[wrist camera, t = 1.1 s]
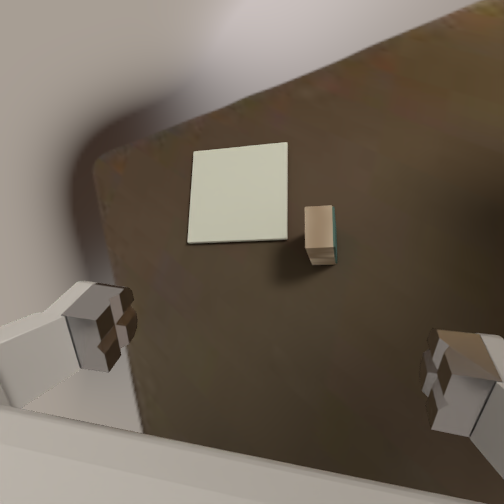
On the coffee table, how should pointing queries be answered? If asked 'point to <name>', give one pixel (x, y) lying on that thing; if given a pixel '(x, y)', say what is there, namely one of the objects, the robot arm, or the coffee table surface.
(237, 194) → the sage mat
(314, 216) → the card deck block
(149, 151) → the coffee table surface
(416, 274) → the coffee table surface
